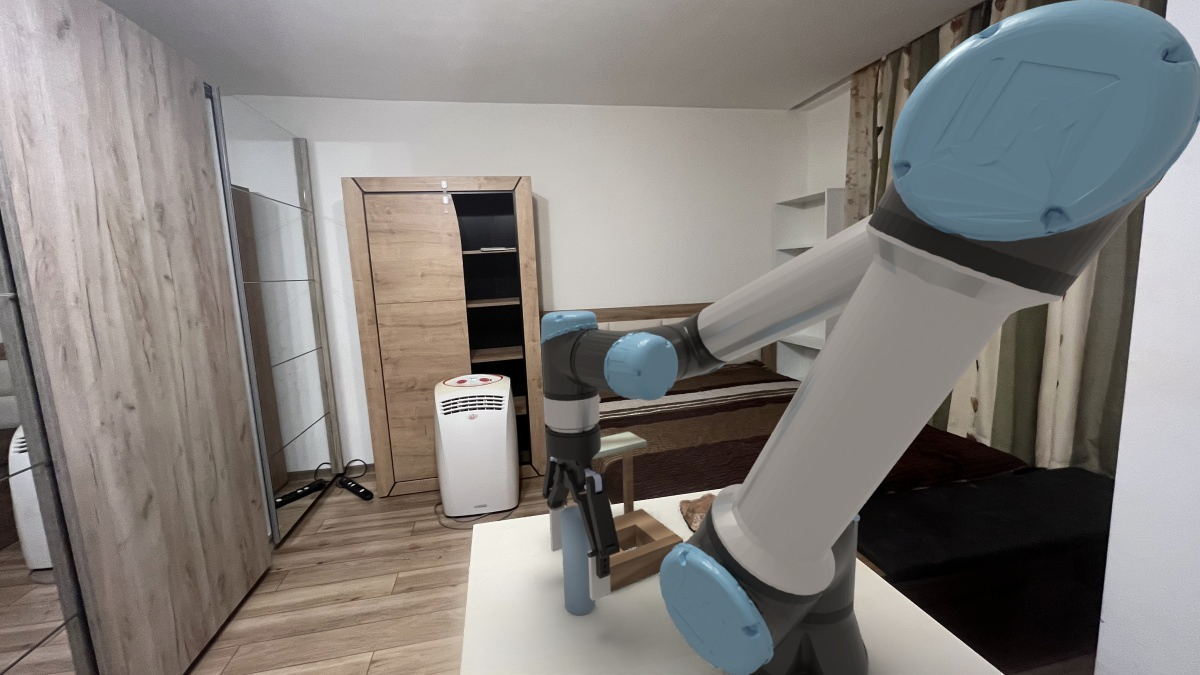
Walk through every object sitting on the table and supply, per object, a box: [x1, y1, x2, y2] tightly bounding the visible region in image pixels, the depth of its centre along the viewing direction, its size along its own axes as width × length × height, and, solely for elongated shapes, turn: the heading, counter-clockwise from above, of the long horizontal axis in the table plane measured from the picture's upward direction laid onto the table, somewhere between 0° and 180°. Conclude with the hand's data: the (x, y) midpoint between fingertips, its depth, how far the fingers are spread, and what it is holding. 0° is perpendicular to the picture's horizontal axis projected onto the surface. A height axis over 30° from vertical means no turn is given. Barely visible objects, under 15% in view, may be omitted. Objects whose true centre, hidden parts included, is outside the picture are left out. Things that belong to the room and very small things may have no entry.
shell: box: [679, 492, 717, 534], centre depth 91 cm, size 12×13×4 cm
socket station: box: [562, 431, 684, 592], centre depth 80 cm, size 18×16×17 cm
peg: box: [561, 505, 596, 616], centre depth 67 cm, size 4×4×14 cm
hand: (578, 570), depth 68 cm, fingers open, 12 cm apart
